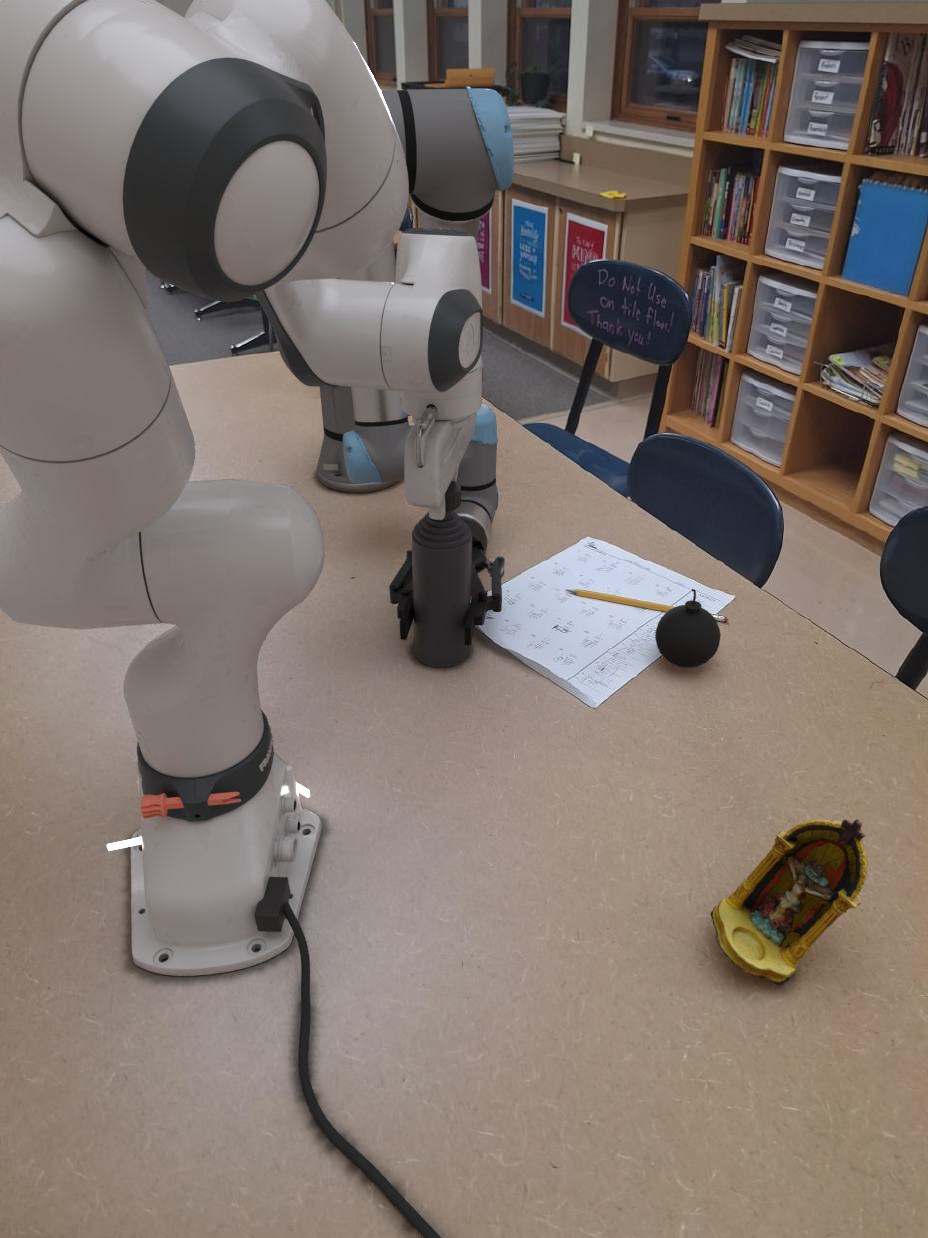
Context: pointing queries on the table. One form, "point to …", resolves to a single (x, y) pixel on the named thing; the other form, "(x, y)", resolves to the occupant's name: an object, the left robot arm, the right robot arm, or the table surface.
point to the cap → (453, 496)
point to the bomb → (688, 635)
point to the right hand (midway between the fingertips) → (435, 633)
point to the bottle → (441, 589)
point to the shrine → (792, 897)
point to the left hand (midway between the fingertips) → (443, 505)
